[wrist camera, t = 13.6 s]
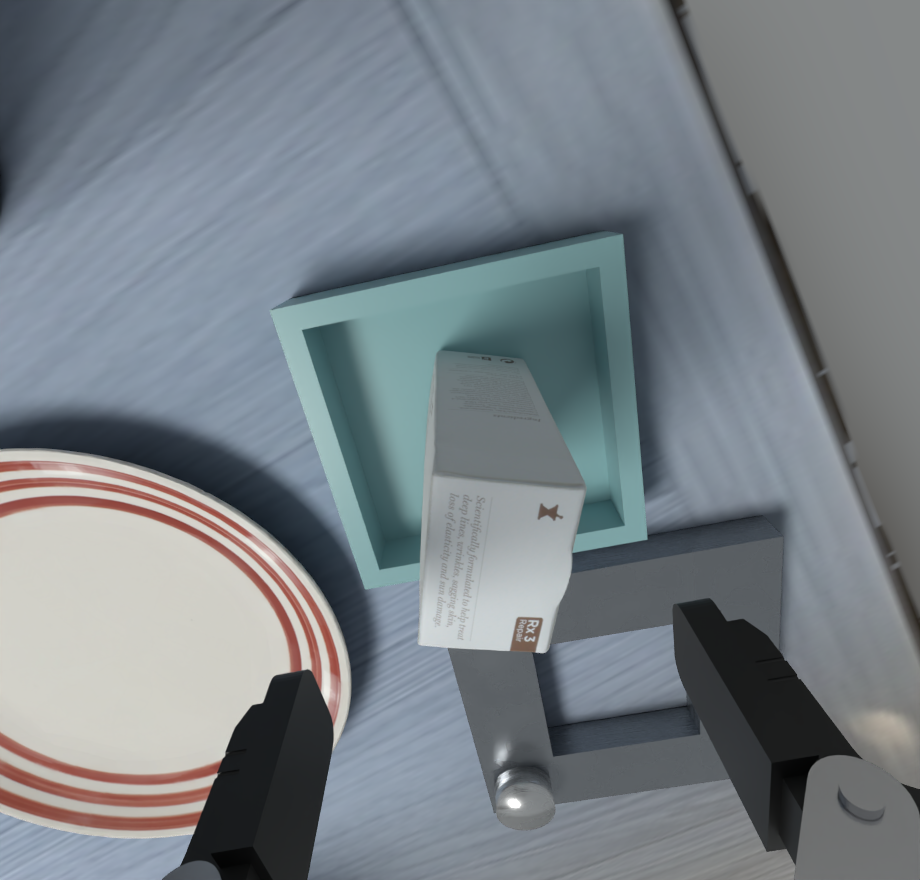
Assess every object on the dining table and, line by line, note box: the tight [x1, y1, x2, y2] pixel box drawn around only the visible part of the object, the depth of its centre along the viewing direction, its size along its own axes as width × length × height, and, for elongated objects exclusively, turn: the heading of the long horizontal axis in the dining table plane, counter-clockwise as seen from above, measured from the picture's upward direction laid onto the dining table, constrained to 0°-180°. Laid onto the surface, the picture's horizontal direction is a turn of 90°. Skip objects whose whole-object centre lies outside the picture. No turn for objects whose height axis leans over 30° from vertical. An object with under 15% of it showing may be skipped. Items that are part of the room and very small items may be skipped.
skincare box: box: [418, 350, 587, 653], centre depth 20 cm, size 6×4×12 cm
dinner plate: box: [0, 448, 351, 838], centre depth 31 cm, size 28×27×3 cm
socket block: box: [448, 516, 783, 830], centre depth 32 cm, size 18×18×4 cm
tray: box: [270, 231, 648, 590], centre depth 25 cm, size 14×14×3 cm
